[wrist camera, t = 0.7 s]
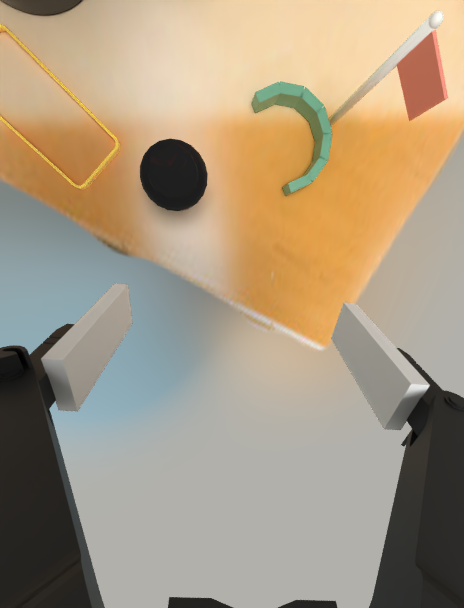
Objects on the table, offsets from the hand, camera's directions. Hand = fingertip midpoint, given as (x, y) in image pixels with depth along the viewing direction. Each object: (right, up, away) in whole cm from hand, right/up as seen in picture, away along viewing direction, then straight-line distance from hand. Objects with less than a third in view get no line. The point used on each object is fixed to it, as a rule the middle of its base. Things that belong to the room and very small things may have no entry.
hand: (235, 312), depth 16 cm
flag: (+14, +23, +20) cm, 34 cm away
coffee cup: (-7, +16, +19) cm, 26 cm away
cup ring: (+8, +23, +19) cm, 31 cm away
